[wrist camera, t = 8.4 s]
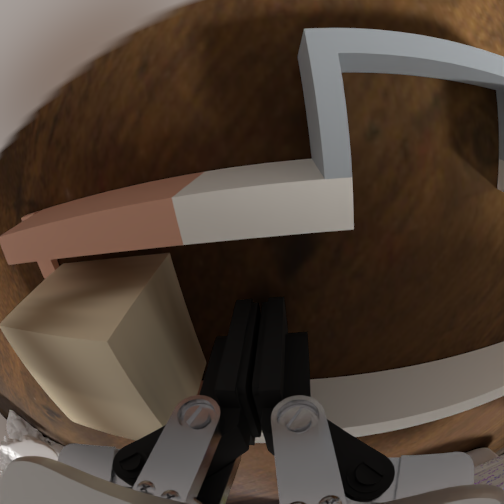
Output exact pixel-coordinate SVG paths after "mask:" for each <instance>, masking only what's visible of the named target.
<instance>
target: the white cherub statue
mask: <svg viewBox="0 0 504 504" xmlns="http://www.w3.org/2000/svg"><path fill="white" fill-rule="evenodd" d="M9 411H10V412H9V413H8V414H9V415H8V418H7V432H8V435H9V438H8V439H6V436H4V441H2V442H0V477H1V475H2V473H3V472H4V470H5V469H6V467H7V466H8V465H9V463H10V462H12V461H13V460H14V459H16V458H19V457H24V456H40V457H46V458H50V459H53V460H56V461H58V457H59V454H60V452H61V450H62V449H63V448H64V446H63V445H61V444H59V443H56V442H54V441H52V440H50V439H48V438H45V437H43V435H42V433H40V432H39V431H38V429H36V428H33V427H32V426H31V425H30V424H29V423H28V422H27V421H25V420H24V419H23V418H22V417H20V416H19V415H18V414H17V413H16V412H14V411H13V410H9ZM49 441H50V442H49Z"/></svg>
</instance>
